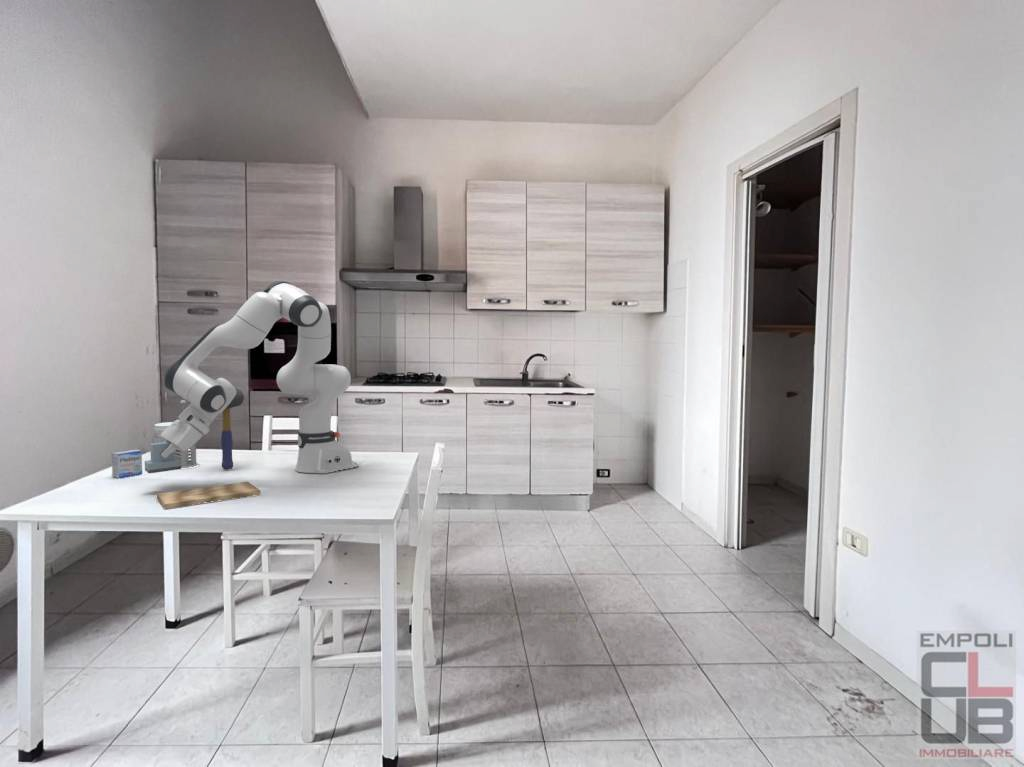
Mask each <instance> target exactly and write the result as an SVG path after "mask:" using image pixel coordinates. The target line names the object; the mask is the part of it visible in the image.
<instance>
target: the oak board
mask: <svg viewBox="0 0 1024 767" xmlns="http://www.w3.org/2000/svg"><path fill="white" fill-rule="evenodd" d="M260 494H262V491H261V489H260V488H258V487H256V486H255V485H254V484H253V483H250V482H249V481H241V482H235V483H234V482H233V483H225V484H220V485H212V486H205V487H197V488H196V487H195V488H190V489H182V490H176V491H174V490H173V491H168V492H162V493H161V492H160V493H156V500H157V499H158V500H159V501H158V500H157V501H158V503H160V505H161V504H162V505H161V506H162V507H163V508H164V510H169V509H170V510H171V508H172V509H176V508H177V507H178V508H183V507H182V506H185V507H188V506H187V505H191V506H193V505H192V504H198V505H200V504H199V503H204V502H211V501H218V500H224V501H226V500H225V499H231V500H233V499H232V498H238V499H241V498H240V497H244V498H248V497H247V496H251V497H254V496H253V495H257V496H261V495H260ZM218 502H219V501H218ZM211 503H212V502H211Z"/></svg>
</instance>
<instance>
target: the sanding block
mask: <svg viewBox="0 0 1024 767" xmlns="http://www.w3.org/2000/svg"><path fill="white" fill-rule="evenodd" d="M170 444H171V442H160V443H155V442H153V443H151V442H150V445H149V446H150V447H149V449H150V459H149V460H144V471H145V472H147V473H148V474H157V473H162V472H169V471H176V470H182V469H181V459H179V458H178V457H175V451H174V452H172V453H171V454H169V455H168V456H167V458H164V457H162V456H161V455H160V453H161V452H162V451H163V450H165V449H167V448H168V447H169V445H170Z"/></svg>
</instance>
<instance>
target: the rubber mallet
mask: <svg viewBox="0 0 1024 767" xmlns="http://www.w3.org/2000/svg"><path fill="white" fill-rule="evenodd" d="M235 389H236V395H235V397H234V398H233V400H232V401H231V402H230V404H229V405H228V406H227V407H226V408H225V409H224V411H223V412H222V430H221V437H220V438H221V440H220V443H221V444H220V446H221V452H222V453H221V457H222V458H221V459H222V460H221V468H222V469H223V470H224V471H230V470H233V467H234V461H233V446H234V445H233V444H234V443H233V442H234V441H233V433H232V432H233V431H232V430H231V429H232V428H231V409H232V408H235V407H239V406H241V405H242V404H243V402H244V400H245V395H244V393H243V391H242V390H241V389H239V388H236V387H235ZM229 469H230V470H229Z"/></svg>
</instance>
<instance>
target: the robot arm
mask: <svg viewBox="0 0 1024 767" xmlns="http://www.w3.org/2000/svg"><path fill="white" fill-rule="evenodd" d="M280 319H285V320H287V321H289V322H291V323H292V324H294V325H295V326H297V348H296V352H295V355H294V356H293V358H292V359H291V360H290V361H289V362H288V363H286V364H285V365H283V366H282V367H281V368H280V369H279V370H278V372H277V374H276V384H277V387H278V389H279V390H280V392H283V393H285V394H290V395H316V399H315V400H314V401H312V402H310V403H308V404H306V405H304V406H303V407H301V409H300V410H299V413H298V432H297V446H298V455H297V461H296V464H295V471H296V472H298V473H304V474H306V473H307V474H308V473H309V474H329V472H330V473H335V472H334V471H336V472H339V471H338V470H341V471H344V470H343V469H346V470H349V469H348V468H351V469H354V468H353V467H356V468H358V467H359V464H358V462H357V461H355V460H353V459H352V453H351V451H350V449H349V448H347V447H346V446H344V445H343V444H341V443H340V442H339V441H337V440H336V438H337V439H338V438H339V439H340V437H341V433H340V431H339V432H338V431H333V430H331V428H332V427H331V422H332V420H331V419H332V411H333V408H334V405H335V402H336V401H337V400H338V398H339V397H340V396H341V395H342V394H343V393H345V392H346V391H347V390H348V389H349V387H350V385H351V382H352V378H351V376H352V375H351V374H350V371H349V370H348V368H347V367H346V366H344V365H340V364H339V365H338V364H332V363H331V364H327V363H325V364H323V363H322V364H321V363H320V364H318V363H317V362H320V361H322V360H324V359H325V358H327V356H328V355H329V354H330V352H331V350H332V349H331V348H332V347H331V346H332V344H331V343H332V326H331V325H332V322H331V316H330V311H329V308H328V306H327V305H326V304H325V303H323V302H321V301H319V300H318V301H317V299H316V298H315V297H314V296H311V295H310V294H308V293H307V291H306V290H303V289H301V288H299V287H297V286H295V285H293V284H292V283H290V282H288V281H283V280H278V281H277V280H276V281H274V282H271V284H269V285H268V286H267V287H266V288H265V289H264V291H257V292H255V293H253V294H252V295H251V296H250V297H249V298H248V299H247V300H245V302H244V303H243V305H242V306H241V307H240V308H239V309H238V311H237V312H236V313H235V314H234V315H233V317H232V318H231V319H229V320H228V321H227V322H225V323H218V324H215V325H214V326H213V327H211V328H210V329H209V330H208V331H206V332H205V334H203V336H202V337H200V338H199V339H198V340H197V341H196V343H194V344H193V346H191V347H190V348H188V350H187V351H186V352H185V353H184V354H183V355H182V356H181V357H180V358H179V359H177V360H176V361H175V362H173V363H172V364H171V365H169V366H168V368H167V369H166V370H165V372H164V375H163V382H164V386H165V388H166V389H167V390H169V391H171V392H172V393H175V394H177V395H178V396H180V397H181V398H183V400H185V401H186V402H189V403H190V404H189V405H188V406H187V407H186V408H185V409H184V411H183V410H182V412H181V413H179V415H178V416H177V418H178V419H176V420H174V421H172V422H173V423H172V424H171V425H170V426H168V427H167V428H166V429H165V430H164V431H163V432H162V433H161V435H160V436H161V437H162V438H163V439H164V440H165V441H164V442H171V444H170V445H169V447H168V448H167V449H165V450H163V451H162V452H161V453H160V455H161V456H162V457H164V458H167V456H168V455H169V454H171V453H172V452H174V451H175V450H176V449H177V448H179V449H181V450H183V451H186V450H188V451H189V450H190V448H191V447H192V446H193V445H194V444H195V443H196V444H197V442H198V441H200V439H201V438H202V437H203V436H204V435H205V436H206V435H207V434H208V433H209V432H210V430H211V428H210V425H211V424H212V423H213V422H214V420H215V419H216V417H217V416H218V415H220V414H223V411H224V409H225V408H226V407H227V406H228V405H229V404H230V402H231V401H232V400H233V398H234V397H235V395H236V389H235V388H236V387H235V386H234V385H233V383H231V382H230V381H229V380H228V379H226V378H224V377H218V378H217V379H214V378H212V377H210V376H209V375H207V374H205V373H204V372H202V371H201V370H200V369H199V368H198V367H199V365H200V364H201V363H202V362H203V361H204V360H205V359H206V358H207V357H208V356H209V355H210V354H211V353H212V352H213V351H214V350H215V349H216V348H220V347H230V348H235V349H239V350H250V349H254V348H256V347H259V345H260V344H261V343H262V342H263V341H264V340H265V338H266V337H267V336H268V334H269V332H270V331H271V330H272V328H273V326H274V324H275V323H276V322H278V321H279V320H280ZM357 466H358V467H357Z"/></svg>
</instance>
